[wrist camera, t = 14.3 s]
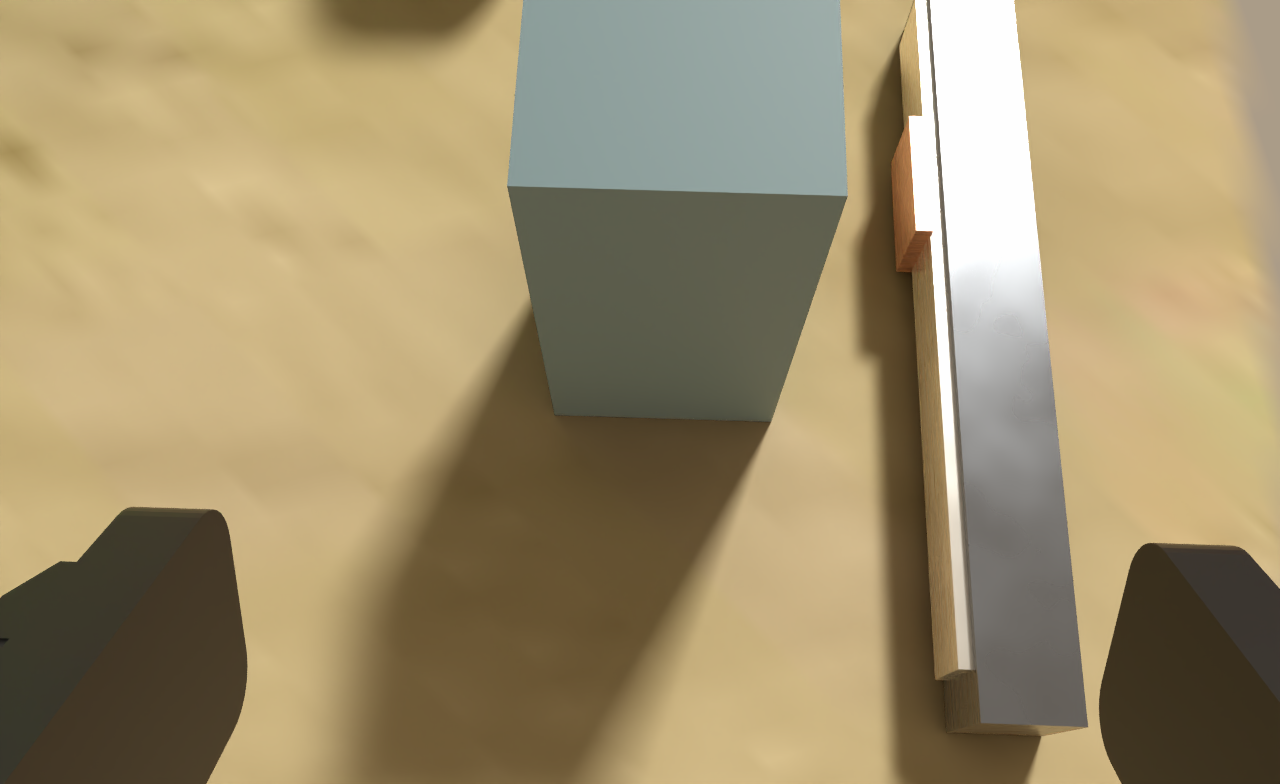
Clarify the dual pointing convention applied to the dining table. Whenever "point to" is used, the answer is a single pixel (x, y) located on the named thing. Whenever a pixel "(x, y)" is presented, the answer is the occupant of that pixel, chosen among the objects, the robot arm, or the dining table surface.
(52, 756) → the robot arm
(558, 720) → the dining table surface
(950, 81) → the price rail
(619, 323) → the carton
